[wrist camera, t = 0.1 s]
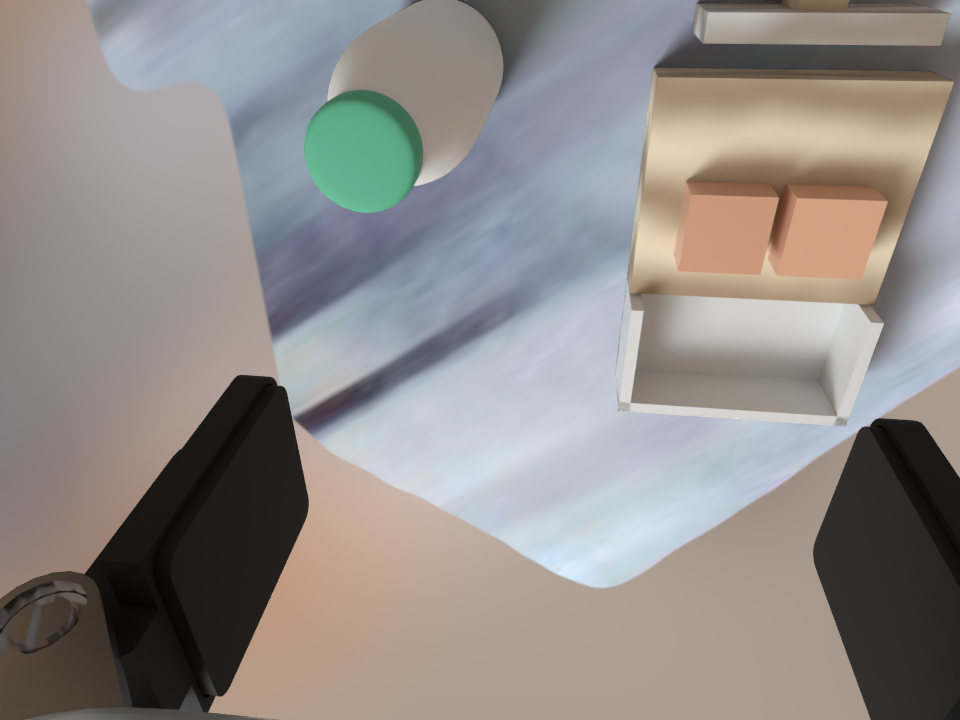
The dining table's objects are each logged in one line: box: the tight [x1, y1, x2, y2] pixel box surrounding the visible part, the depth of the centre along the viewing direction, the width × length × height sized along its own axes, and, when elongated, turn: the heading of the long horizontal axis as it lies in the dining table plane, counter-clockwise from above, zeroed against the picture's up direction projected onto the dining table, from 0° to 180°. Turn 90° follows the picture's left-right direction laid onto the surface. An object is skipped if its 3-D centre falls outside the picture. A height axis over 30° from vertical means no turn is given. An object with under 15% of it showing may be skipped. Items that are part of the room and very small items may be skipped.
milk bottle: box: [304, 0, 503, 213], centre depth 34 cm, size 8×8×20 cm
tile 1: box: [768, 184, 888, 280], centre depth 41 cm, size 5×5×2 cm
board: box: [628, 68, 954, 305], centre depth 43 cm, size 14×16×3 cm
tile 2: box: [674, 181, 779, 275], centre depth 42 cm, size 5×5×2 cm
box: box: [615, 277, 884, 426], centre depth 48 cm, size 8×16×5 cm, turn 91°
